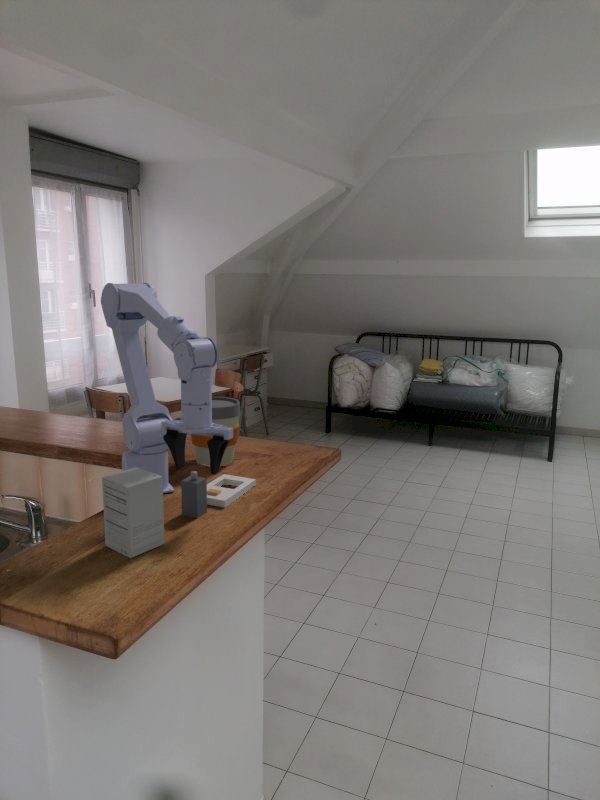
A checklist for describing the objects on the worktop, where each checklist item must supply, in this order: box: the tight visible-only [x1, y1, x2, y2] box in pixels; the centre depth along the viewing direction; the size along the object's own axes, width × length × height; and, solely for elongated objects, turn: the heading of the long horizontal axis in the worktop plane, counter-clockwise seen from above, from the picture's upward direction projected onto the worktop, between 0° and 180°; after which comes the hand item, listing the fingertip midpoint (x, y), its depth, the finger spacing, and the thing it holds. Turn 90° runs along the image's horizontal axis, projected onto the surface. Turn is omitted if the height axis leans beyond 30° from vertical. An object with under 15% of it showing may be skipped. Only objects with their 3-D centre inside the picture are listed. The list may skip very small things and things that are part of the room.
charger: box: [180, 470, 208, 519], centre depth 121 cm, size 4×4×8 cm
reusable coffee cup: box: [190, 396, 241, 465], centre depth 153 cm, size 13×13×15 cm
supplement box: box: [101, 467, 165, 559], centre depth 107 cm, size 7×7×13 cm
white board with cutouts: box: [207, 473, 257, 509], centre depth 133 cm, size 14×8×2 cm, turn 158°
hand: (197, 470), depth 121 cm, fingers open, 7 cm apart
